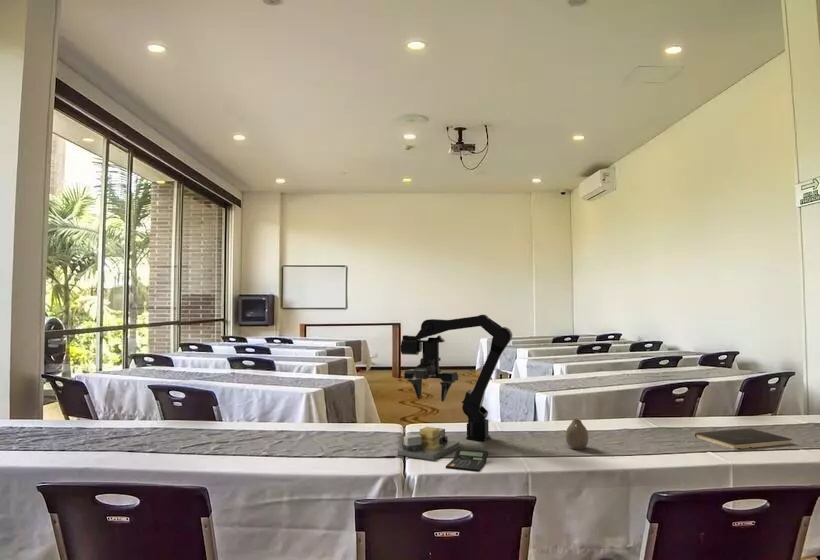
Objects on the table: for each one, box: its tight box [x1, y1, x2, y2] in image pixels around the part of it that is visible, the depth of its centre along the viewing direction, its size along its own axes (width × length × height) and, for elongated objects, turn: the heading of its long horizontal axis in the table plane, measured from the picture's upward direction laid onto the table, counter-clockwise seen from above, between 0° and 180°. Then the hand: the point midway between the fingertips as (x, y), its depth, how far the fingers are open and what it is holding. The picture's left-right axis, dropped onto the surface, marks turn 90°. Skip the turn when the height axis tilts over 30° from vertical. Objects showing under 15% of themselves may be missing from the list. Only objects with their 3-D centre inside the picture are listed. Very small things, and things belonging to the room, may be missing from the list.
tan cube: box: [419, 426, 440, 448], centre depth 171 cm, size 5×5×5 cm
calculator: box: [445, 447, 489, 472], centre depth 157 cm, size 9×12×3 cm
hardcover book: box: [694, 427, 793, 450], centre depth 182 cm, size 16×23×2 cm
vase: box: [565, 418, 589, 451], centre depth 174 cm, size 7×7×9 cm
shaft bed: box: [397, 427, 460, 462], centre depth 171 cm, size 12×18×5 cm, turn 150°
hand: (430, 400), depth 192 cm, fingers open, 9 cm apart
